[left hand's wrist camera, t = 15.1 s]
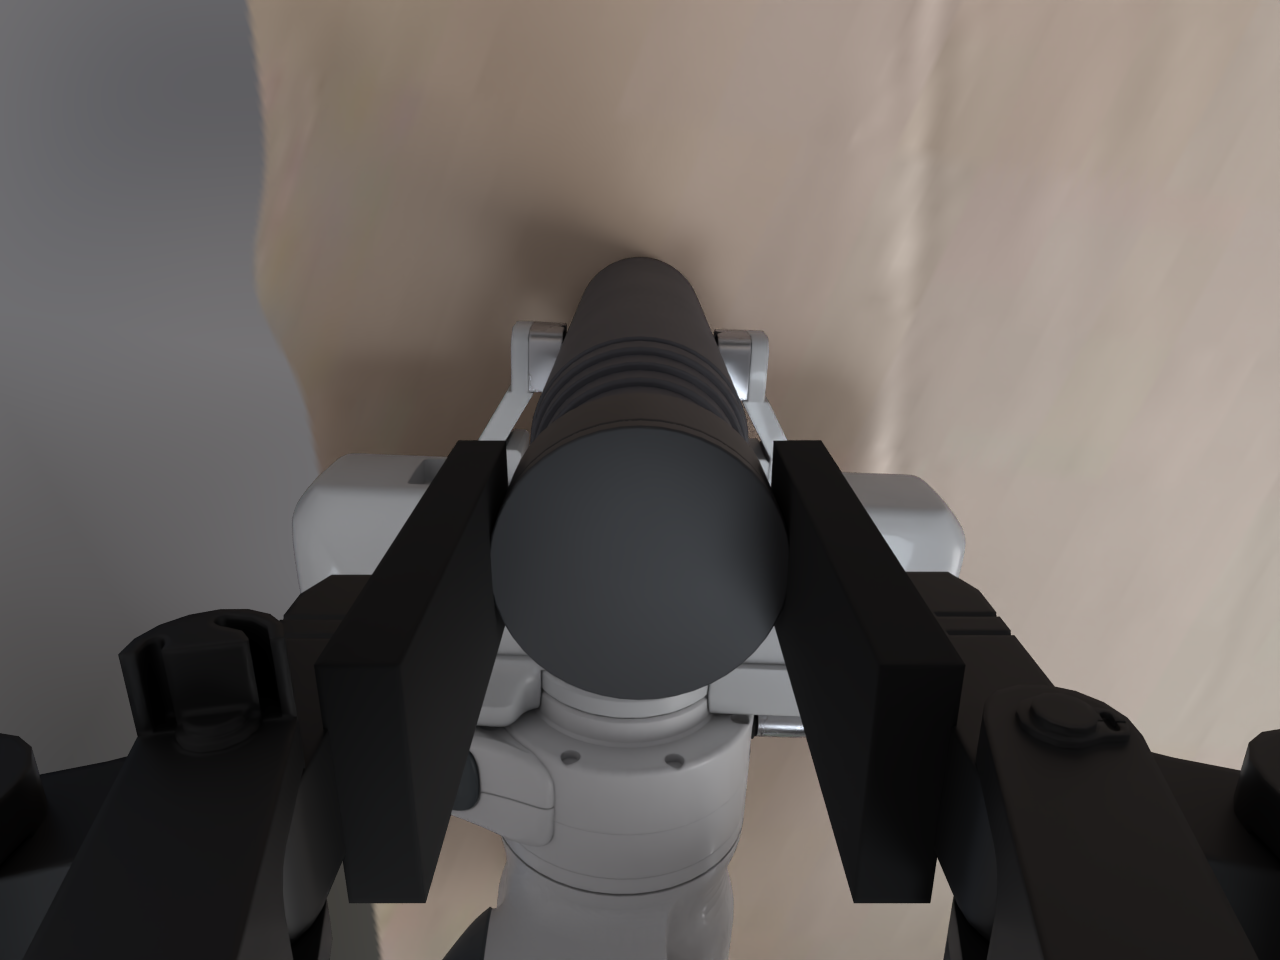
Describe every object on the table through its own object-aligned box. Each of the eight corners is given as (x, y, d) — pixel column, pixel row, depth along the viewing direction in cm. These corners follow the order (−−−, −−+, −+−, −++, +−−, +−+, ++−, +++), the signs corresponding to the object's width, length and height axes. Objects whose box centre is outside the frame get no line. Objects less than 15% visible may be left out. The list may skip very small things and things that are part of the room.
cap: (828, 499, 14) (854, 547, 12) (661, 681, 15) (664, 749, 13) (614, 335, 13) (610, 361, 11) (454, 543, 14) (428, 595, 13)
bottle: (725, 309, 32) (856, 535, 13) (649, 403, 33) (664, 739, 14) (628, 230, 31) (610, 346, 12) (553, 330, 32) (427, 584, 13)
